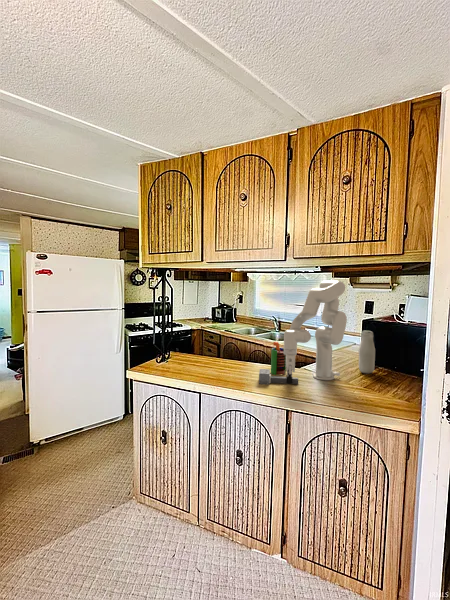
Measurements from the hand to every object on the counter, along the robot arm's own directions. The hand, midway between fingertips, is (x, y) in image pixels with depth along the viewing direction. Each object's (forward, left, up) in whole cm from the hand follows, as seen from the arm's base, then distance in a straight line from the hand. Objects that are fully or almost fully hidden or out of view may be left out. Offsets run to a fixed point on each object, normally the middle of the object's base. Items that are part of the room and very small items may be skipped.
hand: (289, 382), depth 194 cm
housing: (+14, 0, -1) cm, 15 cm away
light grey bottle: (-51, -30, -1) cm, 59 cm away
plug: (+6, 0, 0) cm, 6 cm away
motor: (+6, -20, -1) cm, 21 cm away
